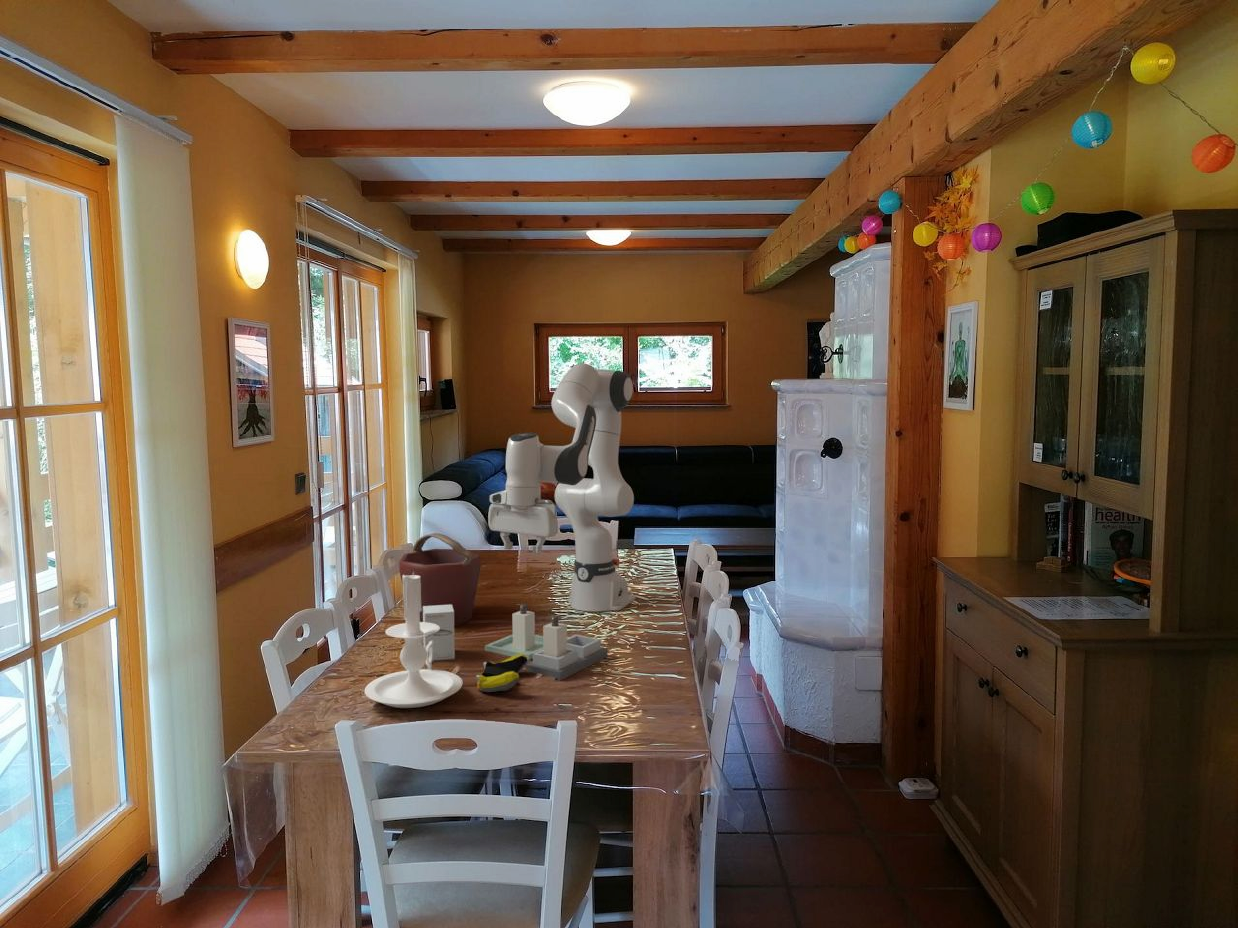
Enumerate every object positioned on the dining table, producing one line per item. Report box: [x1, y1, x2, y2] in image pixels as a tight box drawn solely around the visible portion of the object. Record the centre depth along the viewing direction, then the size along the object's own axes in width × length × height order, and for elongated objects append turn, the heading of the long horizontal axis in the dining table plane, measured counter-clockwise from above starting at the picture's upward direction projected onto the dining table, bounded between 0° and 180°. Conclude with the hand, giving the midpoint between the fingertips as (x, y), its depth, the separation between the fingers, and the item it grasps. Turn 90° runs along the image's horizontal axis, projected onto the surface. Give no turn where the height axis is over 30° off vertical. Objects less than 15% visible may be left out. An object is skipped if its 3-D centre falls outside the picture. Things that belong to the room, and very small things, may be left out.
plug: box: [511, 604, 536, 651], centre depth 214 cm, size 4×4×11 cm
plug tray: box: [484, 633, 543, 661], centre depth 214 cm, size 14×14×2 cm
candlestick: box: [364, 573, 464, 709], centre depth 182 cm, size 21×25×28 cm
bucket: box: [398, 532, 482, 627], centre depth 239 cm, size 24×22×25 cm
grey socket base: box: [525, 615, 608, 682], centre depth 203 cm, size 20×10×13 cm, turn 148°
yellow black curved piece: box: [475, 654, 529, 693], centre depth 189 cm, size 15×6×10 cm
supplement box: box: [422, 604, 456, 663], centre depth 208 cm, size 7×7×13 cm
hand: (522, 551), depth 213 cm, fingers open, 8 cm apart
